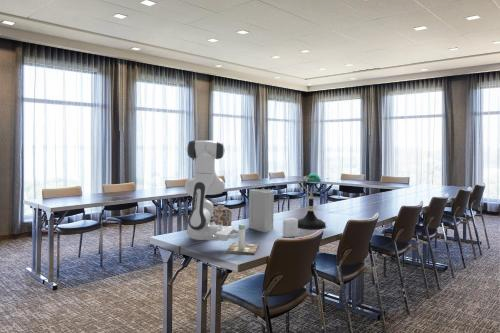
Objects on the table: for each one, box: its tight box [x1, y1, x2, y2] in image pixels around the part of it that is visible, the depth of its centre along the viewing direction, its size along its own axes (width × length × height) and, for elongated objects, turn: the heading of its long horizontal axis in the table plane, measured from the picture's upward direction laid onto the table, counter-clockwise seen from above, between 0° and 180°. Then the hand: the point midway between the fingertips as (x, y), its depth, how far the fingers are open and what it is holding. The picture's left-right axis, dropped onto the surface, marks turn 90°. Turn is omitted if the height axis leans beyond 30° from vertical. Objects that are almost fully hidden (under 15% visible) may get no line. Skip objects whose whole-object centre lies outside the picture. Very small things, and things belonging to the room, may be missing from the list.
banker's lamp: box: [297, 172, 327, 230], centre depth 292 cm, size 26×23×40 cm
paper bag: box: [248, 188, 275, 233], centre depth 281 cm, size 19×15×28 cm
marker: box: [238, 223, 246, 250], centre depth 219 cm, size 4×4×14 cm
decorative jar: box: [213, 204, 233, 227], centre depth 272 cm, size 12×12×18 cm
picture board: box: [225, 242, 260, 256], centre depth 224 cm, size 18×16×1 cm
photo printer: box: [282, 217, 299, 238], centre depth 258 cm, size 10×4×12 cm, turn 113°
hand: (239, 234), depth 220 cm, fingers open, 8 cm apart
